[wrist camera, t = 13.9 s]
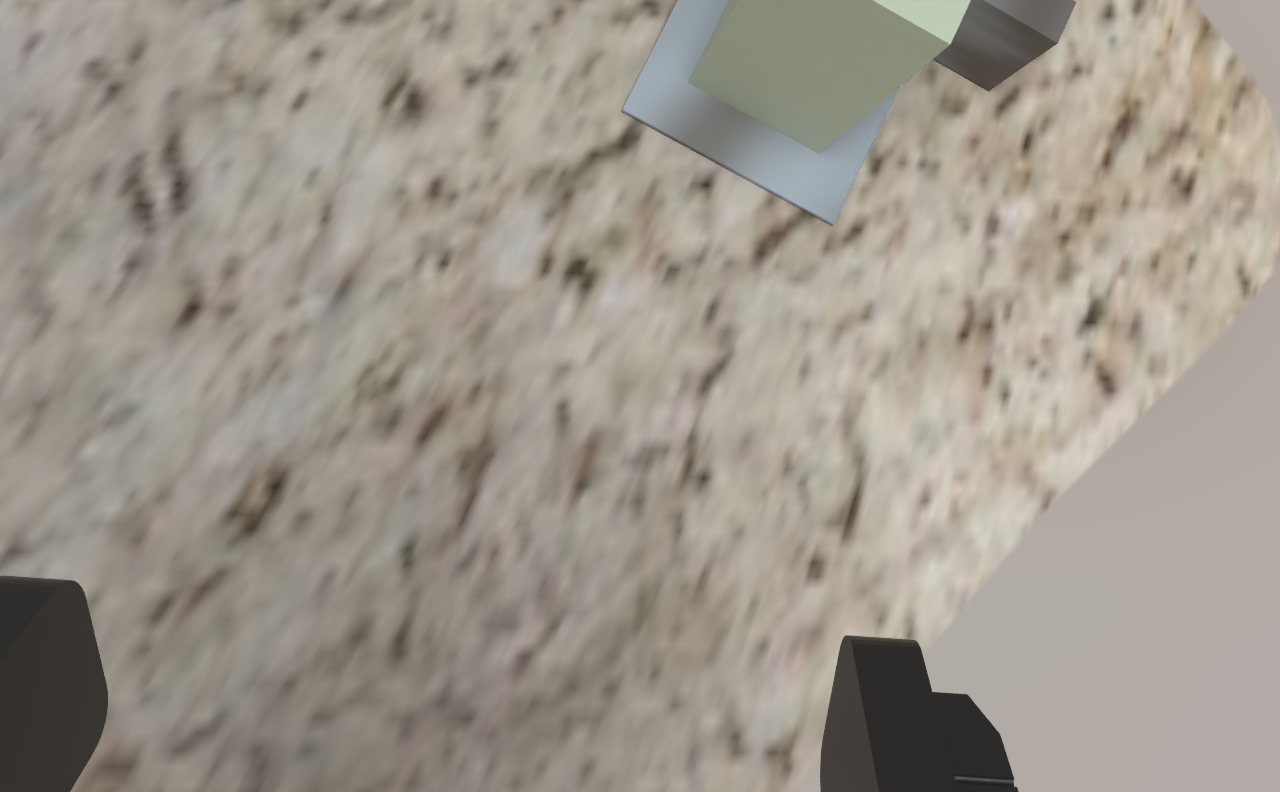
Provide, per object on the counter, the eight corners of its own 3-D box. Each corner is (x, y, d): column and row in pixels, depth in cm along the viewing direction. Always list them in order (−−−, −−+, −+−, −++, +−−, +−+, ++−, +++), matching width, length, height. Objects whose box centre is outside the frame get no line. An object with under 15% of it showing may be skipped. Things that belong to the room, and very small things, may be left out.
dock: (539, 66, 37) (552, 12, 32) (678, -199, 38) (709, -287, 34) (907, 266, 38) (967, 240, 34) (1027, 5, 40) (1101, -52, 35)
